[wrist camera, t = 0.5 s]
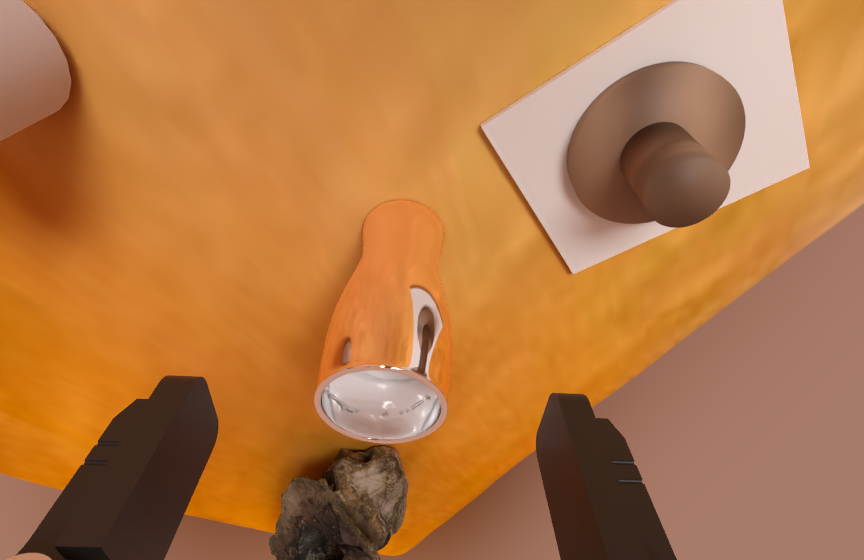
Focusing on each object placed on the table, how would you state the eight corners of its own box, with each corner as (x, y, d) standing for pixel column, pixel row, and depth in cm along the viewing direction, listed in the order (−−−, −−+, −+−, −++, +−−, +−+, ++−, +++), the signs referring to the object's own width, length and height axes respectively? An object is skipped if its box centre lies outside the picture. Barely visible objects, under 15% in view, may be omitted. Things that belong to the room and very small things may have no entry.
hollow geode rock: (324, 490, 71) (374, 580, 66) (247, 539, 62) (299, 648, 57) (396, 407, 54) (472, 520, 49) (305, 457, 45) (386, 603, 40)
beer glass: (431, 180, 30) (422, 349, 19) (462, 258, 34) (470, 434, 23) (340, 210, 32) (280, 381, 20) (380, 280, 36) (349, 454, 25)
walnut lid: (714, 20, 23) (780, 49, 19) (751, 167, 28) (810, 218, 24) (540, 126, 27) (558, 171, 22) (601, 238, 32) (626, 294, 28)
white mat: (766, -61, 21) (772, -60, 21) (804, 164, 29) (809, 167, 28) (480, 124, 28) (480, 127, 27) (571, 270, 35) (573, 274, 34)
